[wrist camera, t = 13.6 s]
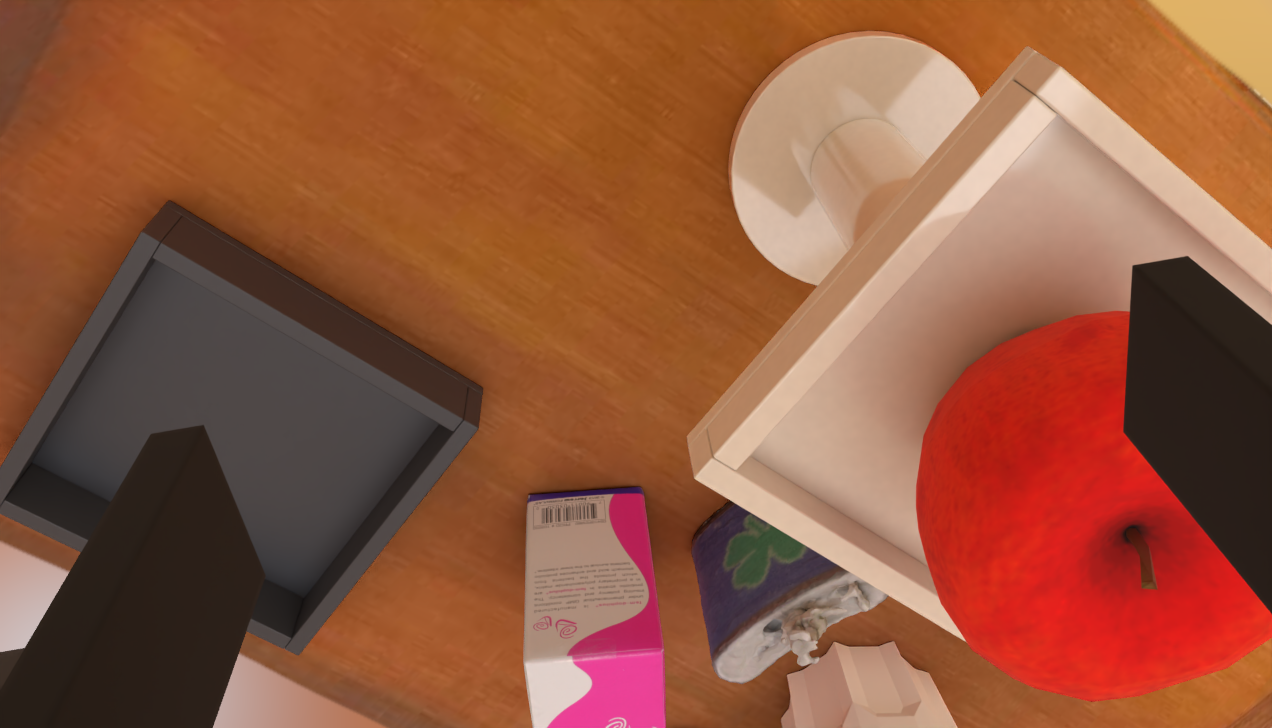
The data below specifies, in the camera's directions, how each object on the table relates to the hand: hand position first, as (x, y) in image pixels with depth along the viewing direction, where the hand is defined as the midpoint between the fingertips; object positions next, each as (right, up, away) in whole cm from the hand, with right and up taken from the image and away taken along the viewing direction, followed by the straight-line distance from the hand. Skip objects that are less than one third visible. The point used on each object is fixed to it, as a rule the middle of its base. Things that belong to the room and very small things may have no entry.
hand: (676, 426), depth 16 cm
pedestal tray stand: (+9, +9, +32) cm, 35 cm away
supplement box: (-3, -8, +41) cm, 42 cm away
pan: (-19, -2, +36) cm, 41 cm away
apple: (+10, 0, +15) cm, 18 cm away
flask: (+6, -6, +40) cm, 41 cm away
